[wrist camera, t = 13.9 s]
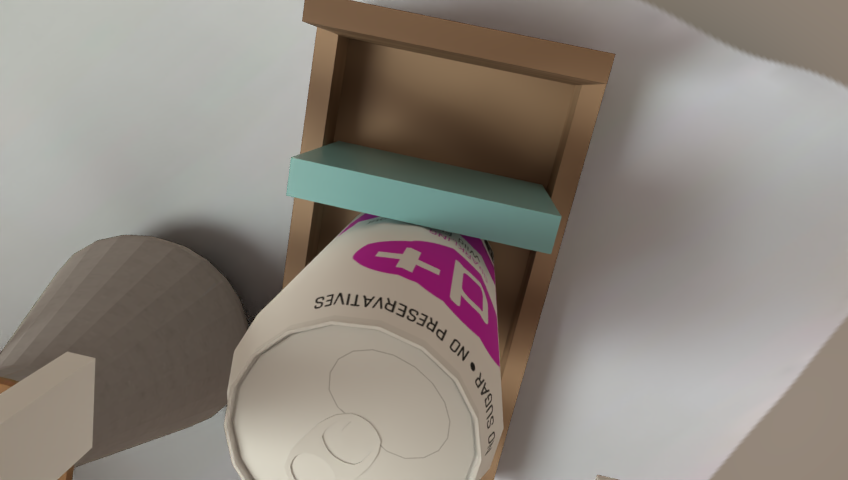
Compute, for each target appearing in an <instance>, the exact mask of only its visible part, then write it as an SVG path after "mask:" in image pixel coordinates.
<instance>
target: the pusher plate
mask: <svg viewBox="0 0 848 480" xmlns="http://www.w3.org/2000/svg"><path fill="white" fill-rule="evenodd" d="M286 196H291V197H295V198H300V199H304V200H309V201H313V202H318V203H322V204H327V205H331V206H336V207H340V208H345V209H349V210H354V211H358V212H363V213H367V214H372V215H376V216H381V217H385V218H390V219H394V220H399V221H403V222H408V223H412V224H417V225H421V226H426V227H430V228H435V229H439V230H444V231H448V232H453V233H457V234H462V235H466V236H471V237H475V238H480V239H484V240H489V241H493V242H498V243H502V244H507V245H511V246H515V247H520V248H524V249H529V250H533V251H538V252H542V253H547V254H551V253H552V249H553V246H554V242H555V239H556V235H557V231H558V228H559V224H560V221H561V217H562V216H561V215H560V213H559V211H558V210H557V208H556V206H555V205H554V203H553V202H552V200H551V198H550V197H549V195H548V193H547V192H546V190H545V188H544V187H543V185H541V184H536V183H531V182H527V181H522V180H517V179H513V178H508V177H504V176H499V175H494V174H490V173H485V172H480V171H476V170H471V169H467V168H462V167H457V166H453V165H448V164H443V163H439V162H434V161H430V160H425V159H420V158H416V157H411V156H406V155H402V154H397V153H393V152H388V151H383V150H379V149H374V148H369V147H365V146H360V145H356V144H351V143H346V142H342V141H337V142H334V143H331V144H328V145H325V146H322V147H320V148H317V149H314V150H311V151H308V152H305V153H302V154H299V155H297V156H294V157H291V162H290V169H289V177H288V185H287V193H286Z"/></svg>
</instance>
